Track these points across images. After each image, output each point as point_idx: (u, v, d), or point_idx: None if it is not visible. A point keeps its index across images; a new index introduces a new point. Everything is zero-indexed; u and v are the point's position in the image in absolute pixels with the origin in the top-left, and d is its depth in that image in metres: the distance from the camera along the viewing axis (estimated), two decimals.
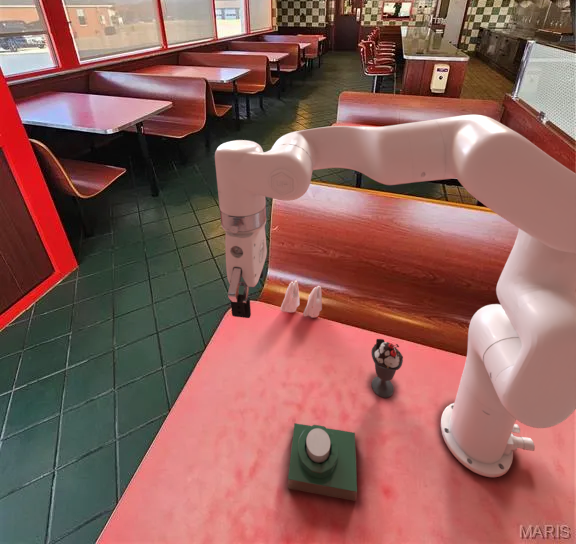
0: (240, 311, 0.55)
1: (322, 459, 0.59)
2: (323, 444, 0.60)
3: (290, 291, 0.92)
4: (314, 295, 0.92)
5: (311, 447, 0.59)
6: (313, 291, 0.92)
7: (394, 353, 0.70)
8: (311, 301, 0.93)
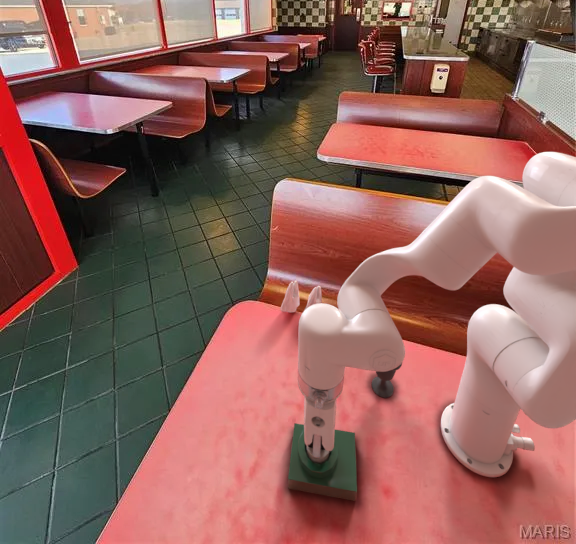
0: None
1: (322, 461, 0.59)
2: None
3: (290, 291, 0.92)
4: (314, 295, 0.92)
5: (311, 449, 0.60)
6: (313, 291, 0.92)
7: None
8: (311, 301, 0.93)
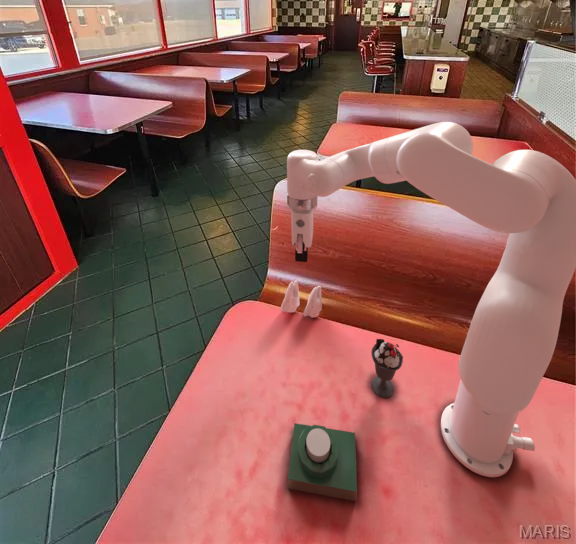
0: (301, 257, 0.86)
1: (322, 459, 0.59)
2: (323, 444, 0.60)
3: (290, 291, 0.92)
4: (314, 295, 0.92)
5: (311, 447, 0.59)
6: (313, 291, 0.92)
7: (394, 353, 0.70)
8: (311, 301, 0.93)
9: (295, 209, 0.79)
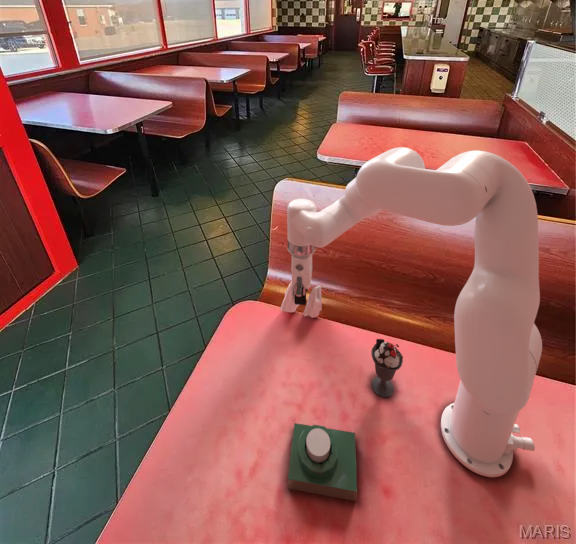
0: (300, 300, 0.90)
1: (322, 459, 0.59)
2: (323, 444, 0.60)
3: (290, 291, 0.92)
4: (314, 295, 0.92)
5: (311, 447, 0.59)
6: (313, 291, 0.92)
7: (394, 353, 0.70)
8: (311, 301, 0.93)
9: (295, 254, 0.85)
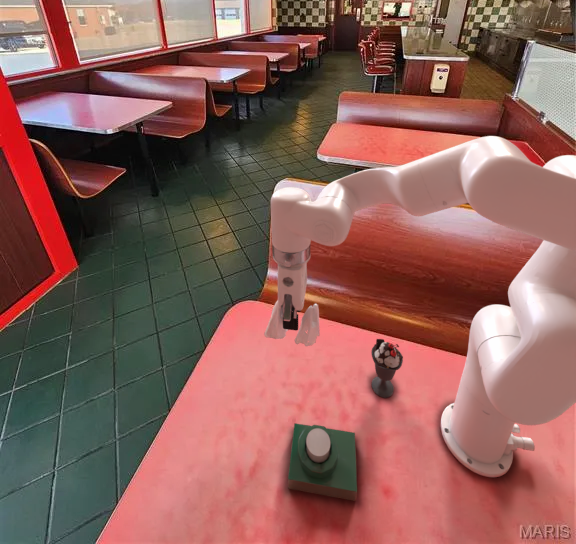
0: (290, 325, 0.67)
1: (322, 459, 0.59)
2: (323, 444, 0.60)
3: (277, 311, 0.69)
4: (309, 317, 0.69)
5: (311, 447, 0.59)
6: (308, 311, 0.69)
7: (394, 353, 0.70)
8: (305, 324, 0.70)
9: (282, 263, 0.62)
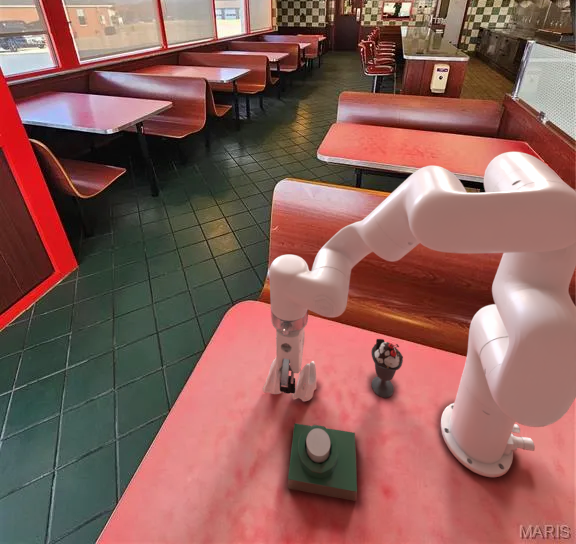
0: (287, 389, 0.68)
1: (322, 459, 0.59)
2: (323, 444, 0.60)
3: (275, 369, 0.71)
4: (306, 374, 0.71)
5: (311, 447, 0.59)
6: (305, 369, 0.71)
7: (394, 353, 0.70)
8: (302, 381, 0.72)
9: (280, 330, 0.64)
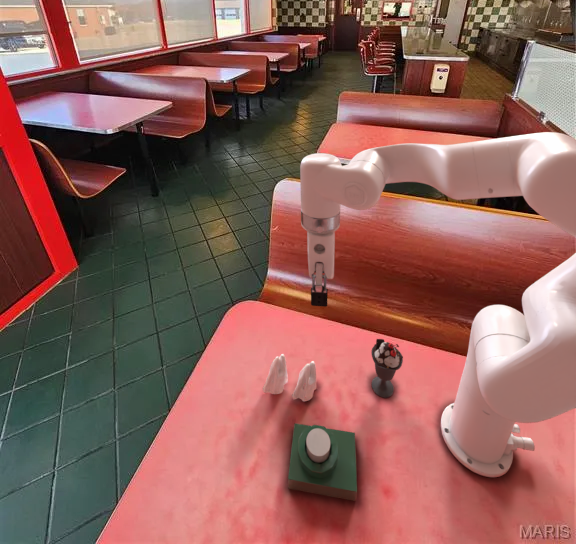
0: (320, 300, 0.63)
1: (322, 459, 0.59)
2: (323, 444, 0.60)
3: (275, 369, 0.71)
4: (306, 374, 0.71)
5: (311, 447, 0.59)
6: (305, 369, 0.71)
7: (394, 353, 0.70)
8: (302, 381, 0.72)
9: (312, 230, 0.61)
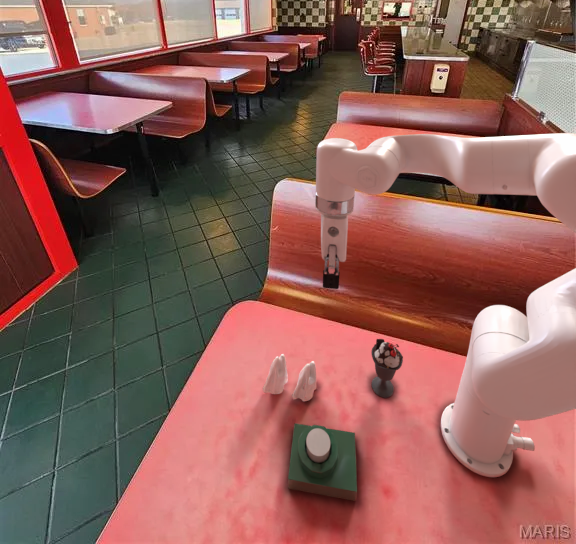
0: (331, 283, 0.65)
1: (322, 459, 0.59)
2: (323, 444, 0.60)
3: (275, 369, 0.71)
4: (306, 374, 0.71)
5: (311, 447, 0.59)
6: (305, 369, 0.71)
7: (394, 353, 0.70)
8: (302, 381, 0.72)
9: (327, 213, 0.62)
